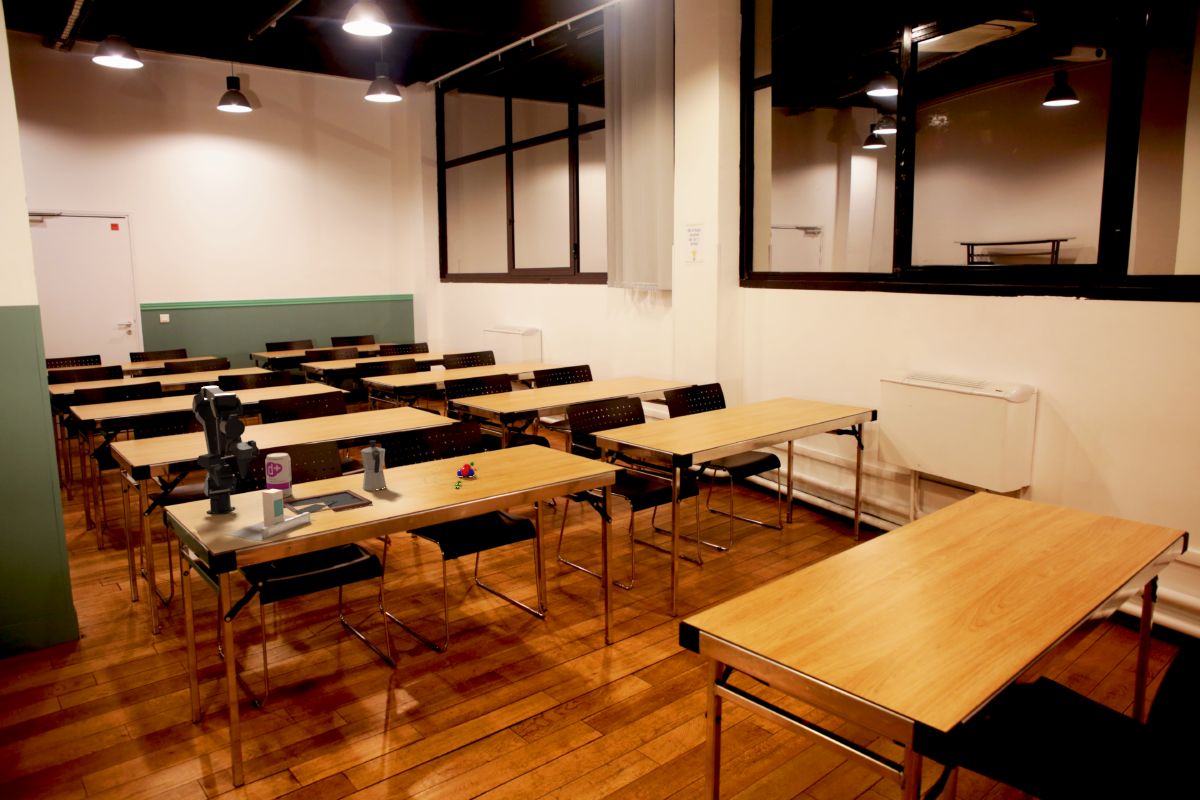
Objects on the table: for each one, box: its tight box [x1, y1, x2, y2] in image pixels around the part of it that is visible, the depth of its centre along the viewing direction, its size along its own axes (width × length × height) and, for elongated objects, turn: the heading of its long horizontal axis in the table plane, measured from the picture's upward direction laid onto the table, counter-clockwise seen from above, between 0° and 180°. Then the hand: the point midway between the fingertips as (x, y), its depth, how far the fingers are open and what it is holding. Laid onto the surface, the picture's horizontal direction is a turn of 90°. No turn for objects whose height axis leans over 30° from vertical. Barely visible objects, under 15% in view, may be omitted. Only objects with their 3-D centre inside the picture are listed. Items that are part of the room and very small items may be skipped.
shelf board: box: [225, 514, 316, 542], centre depth 233 cm, size 14×22×1 cm, turn 157°
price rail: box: [261, 512, 311, 540], centre depth 230 cm, size 1×18×3 cm, turn 157°
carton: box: [261, 489, 285, 527], centre depth 232 cm, size 4×4×12 cm
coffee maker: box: [360, 440, 387, 491], centre depth 281 cm, size 15×9×18 cm, turn 27°
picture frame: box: [283, 489, 373, 516], centre depth 261 cm, size 20×2×25 cm
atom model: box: [421, 460, 501, 487], centre depth 299 cm, size 35×34×6 cm
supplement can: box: [264, 452, 293, 499], centre depth 270 cm, size 8×8×15 cm
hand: (231, 482), depth 239 cm, fingers open, 9 cm apart
